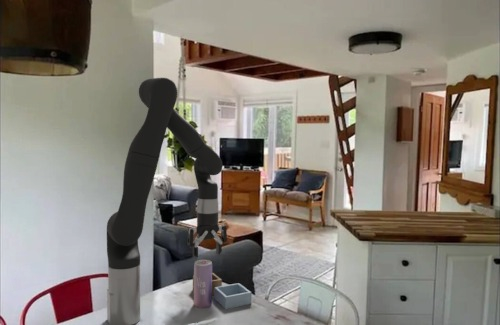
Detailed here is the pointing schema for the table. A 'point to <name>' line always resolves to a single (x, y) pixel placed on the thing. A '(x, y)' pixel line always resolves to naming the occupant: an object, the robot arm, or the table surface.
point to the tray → (232, 295)
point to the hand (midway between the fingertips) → (207, 255)
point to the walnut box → (213, 282)
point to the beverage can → (203, 283)
